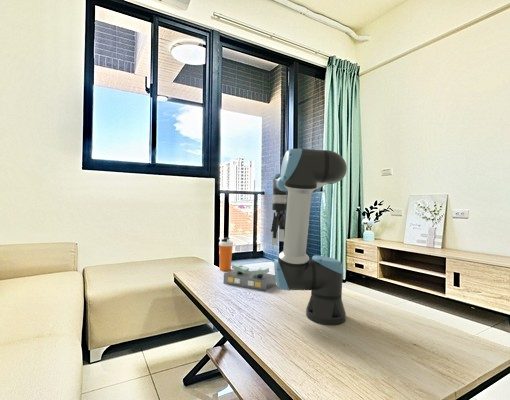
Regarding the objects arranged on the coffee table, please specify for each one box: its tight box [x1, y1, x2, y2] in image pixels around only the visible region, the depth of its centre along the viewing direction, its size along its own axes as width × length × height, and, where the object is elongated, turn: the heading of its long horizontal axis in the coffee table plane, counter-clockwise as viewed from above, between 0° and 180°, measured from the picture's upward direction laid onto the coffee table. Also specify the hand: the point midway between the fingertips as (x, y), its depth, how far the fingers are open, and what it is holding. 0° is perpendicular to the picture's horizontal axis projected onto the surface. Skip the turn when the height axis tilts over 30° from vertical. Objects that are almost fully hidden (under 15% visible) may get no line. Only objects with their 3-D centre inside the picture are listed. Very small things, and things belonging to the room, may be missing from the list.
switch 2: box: [250, 267, 270, 275], centre depth 146 cm, size 5×8×2 cm, turn 64°
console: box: [223, 269, 277, 292], centre depth 149 cm, size 13×25×6 cm, turn 64°
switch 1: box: [231, 262, 250, 273], centre depth 151 cm, size 5×8×2 cm, turn 64°
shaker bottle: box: [218, 237, 234, 272], centre depth 177 cm, size 9×9×20 cm
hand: (278, 242), depth 147 cm, fingers open, 13 cm apart
